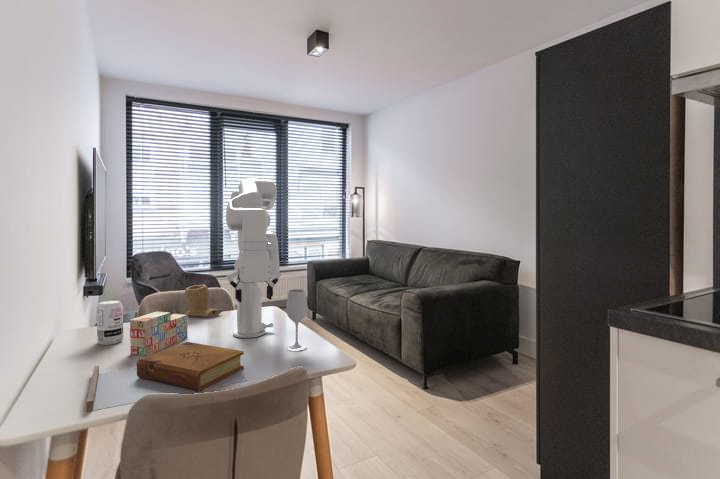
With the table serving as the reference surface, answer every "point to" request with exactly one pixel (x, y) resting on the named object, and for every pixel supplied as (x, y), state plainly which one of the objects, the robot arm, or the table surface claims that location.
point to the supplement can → (109, 322)
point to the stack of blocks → (156, 332)
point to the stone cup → (199, 301)
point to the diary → (190, 365)
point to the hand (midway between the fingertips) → (254, 300)
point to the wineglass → (296, 309)
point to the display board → (133, 388)
